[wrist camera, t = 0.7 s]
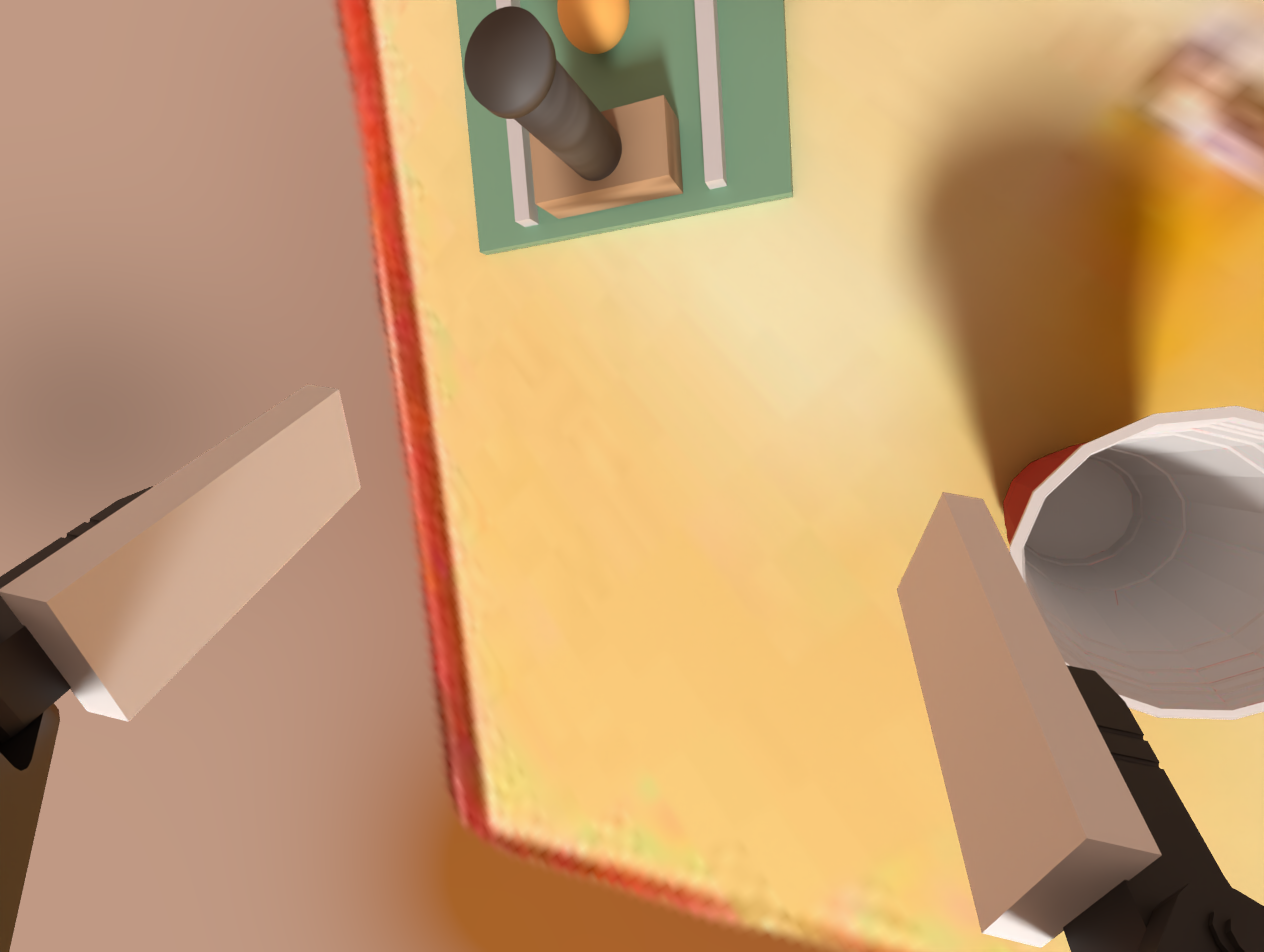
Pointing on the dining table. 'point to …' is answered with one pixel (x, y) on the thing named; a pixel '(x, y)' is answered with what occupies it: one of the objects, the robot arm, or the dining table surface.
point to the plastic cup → (1153, 559)
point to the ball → (593, 23)
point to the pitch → (639, 70)
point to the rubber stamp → (571, 122)
